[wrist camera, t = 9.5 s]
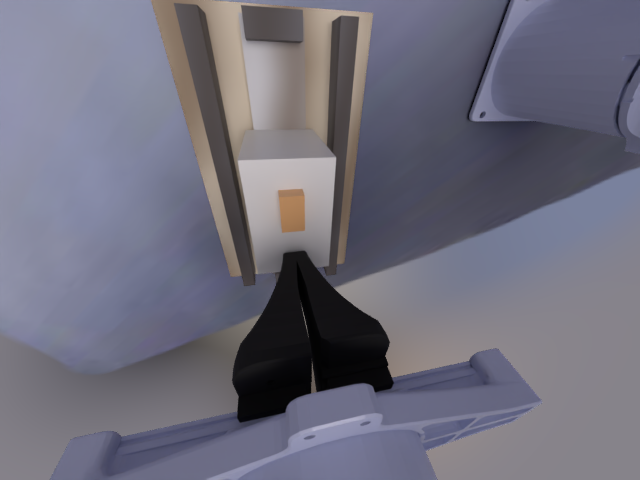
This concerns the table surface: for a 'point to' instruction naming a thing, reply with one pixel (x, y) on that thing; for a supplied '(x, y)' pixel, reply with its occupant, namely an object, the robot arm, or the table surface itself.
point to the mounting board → (266, 98)
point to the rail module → (287, 195)
